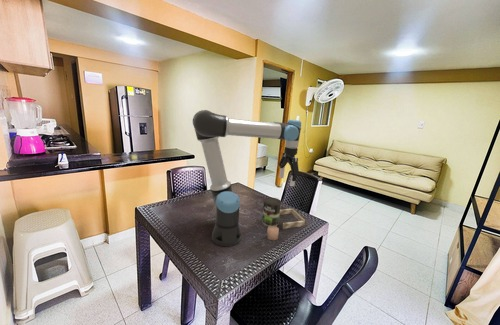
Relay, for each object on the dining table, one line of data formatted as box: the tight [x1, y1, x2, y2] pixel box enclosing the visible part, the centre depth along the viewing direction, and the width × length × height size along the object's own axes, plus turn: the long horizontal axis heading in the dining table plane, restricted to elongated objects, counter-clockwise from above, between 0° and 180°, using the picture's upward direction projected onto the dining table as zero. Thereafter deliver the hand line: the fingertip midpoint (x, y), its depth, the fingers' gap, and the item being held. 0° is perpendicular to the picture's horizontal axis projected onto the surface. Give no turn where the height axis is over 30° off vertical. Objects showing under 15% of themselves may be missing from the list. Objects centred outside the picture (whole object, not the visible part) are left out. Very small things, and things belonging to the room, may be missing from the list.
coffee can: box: [261, 196, 282, 227], centre depth 124 cm, size 10×10×14 cm
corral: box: [280, 208, 307, 230], centre depth 130 cm, size 15×16×3 cm
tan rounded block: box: [266, 226, 280, 241], centre depth 111 cm, size 6×6×5 cm
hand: (286, 181), depth 126 cm, fingers open, 13 cm apart
